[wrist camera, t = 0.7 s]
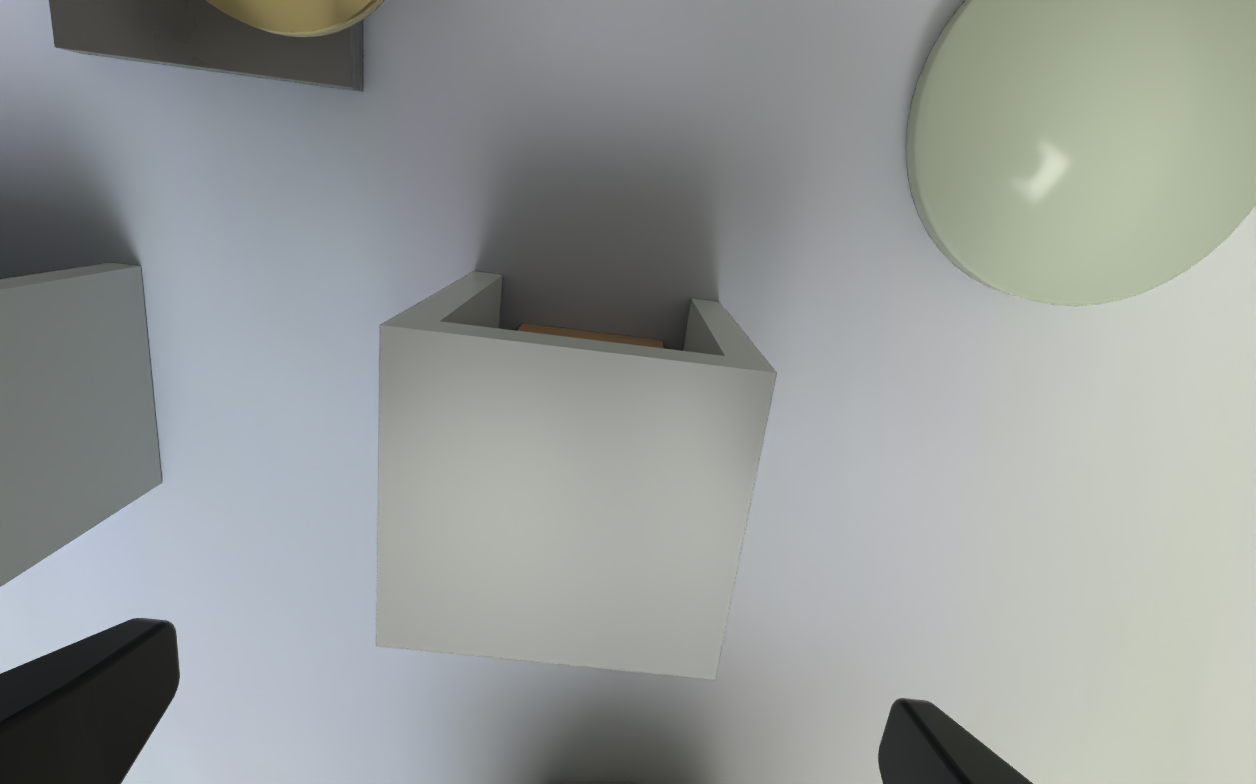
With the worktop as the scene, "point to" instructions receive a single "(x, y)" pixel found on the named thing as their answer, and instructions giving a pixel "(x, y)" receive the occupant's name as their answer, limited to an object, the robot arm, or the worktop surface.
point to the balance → (224, 35)
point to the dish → (1085, 142)
